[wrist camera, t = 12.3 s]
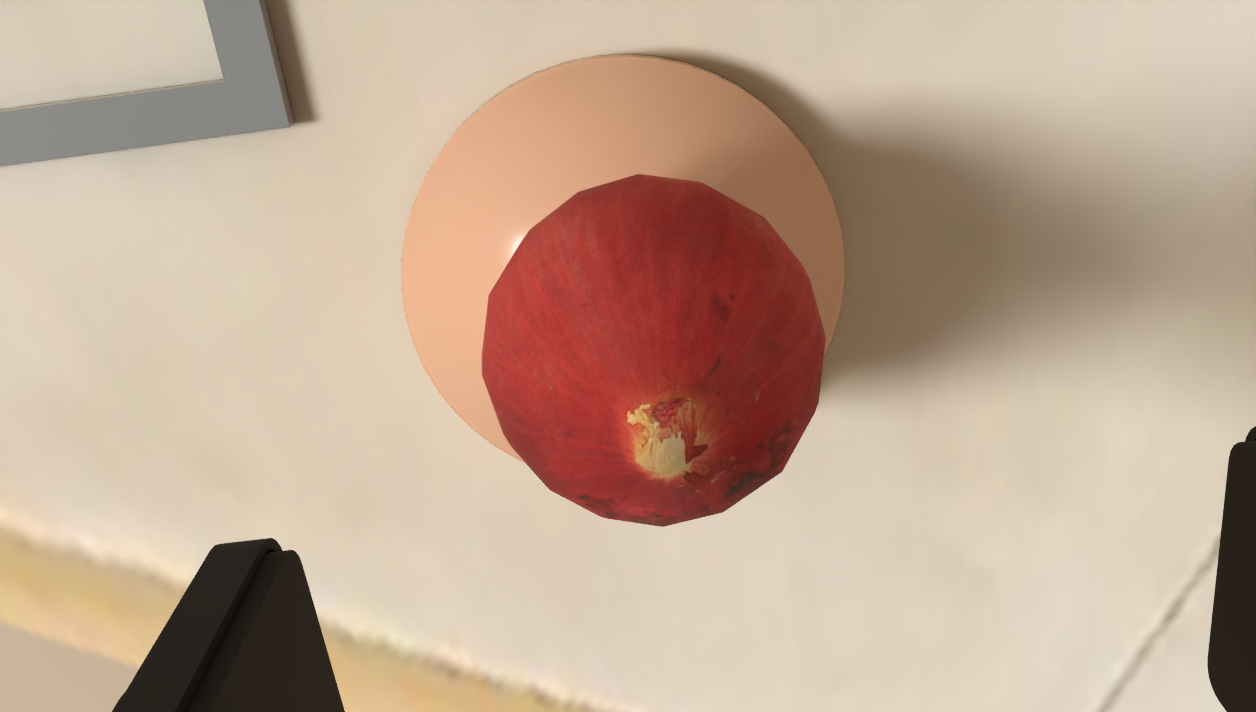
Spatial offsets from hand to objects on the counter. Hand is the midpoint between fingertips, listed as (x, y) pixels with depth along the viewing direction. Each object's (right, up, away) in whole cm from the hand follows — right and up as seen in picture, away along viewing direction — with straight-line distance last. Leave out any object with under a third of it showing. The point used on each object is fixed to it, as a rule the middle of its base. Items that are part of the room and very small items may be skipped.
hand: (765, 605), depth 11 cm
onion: (-1, +4, +11) cm, 12 cm away
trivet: (-1, +4, +12) cm, 13 cm away
